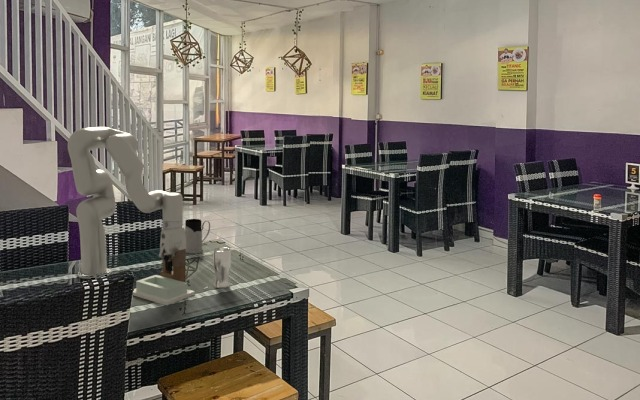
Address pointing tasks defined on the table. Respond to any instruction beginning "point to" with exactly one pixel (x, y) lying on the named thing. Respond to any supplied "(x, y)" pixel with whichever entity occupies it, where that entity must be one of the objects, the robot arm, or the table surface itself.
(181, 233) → the robot arm
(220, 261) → the beer glass
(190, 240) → the grey handled cylinder
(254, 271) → the table surface
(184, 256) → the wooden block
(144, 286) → the end cap
